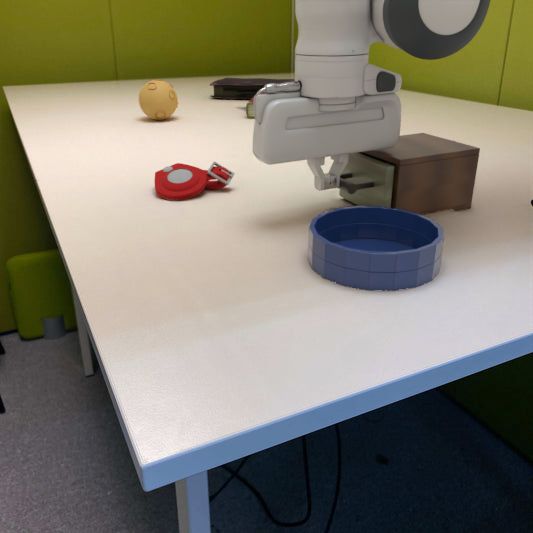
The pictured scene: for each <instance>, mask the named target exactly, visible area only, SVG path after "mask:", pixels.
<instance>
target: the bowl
mask: <svg viewBox="0 0 533 533" xmlns="http://www.w3.org/2000/svg"><path fill="white" fill-rule="evenodd" d="M444 240H445V232H444V228H443V227H442V226H441V225H440V224H439V223H438V222H437V221H435V220H434V219H432V218H430V217H427V216H425V215H421V214H418V213H415V212H411V211H407V210H403V209H398V208H390V207H382V206H358V205H354V206H344V207H343V206H342V207H338V208H334V209H329V210H327V211H326V210H325V211H323V212H321V213H319V214H318V215H316V216H314V217H313V218H312V219H311V221H310V223H309V226H308V247H307V253H308V254H307V261H308V262H309V266H310V267H311V269H312V270H313V271H314V272H315V273H316V274H317V275H318V276H320V275H321V276H320V277H322V278H323V277H324V278H323V279H325V278H326V280H327V279H328V280H327V281H329V280H330V281H329V282H332V281H333V282H332V283H334V282H336V283H335V284H337V285H340V284H341V286H343V285H344V286H343V287H347V286H349V287H348V288H351V287H352V289H357V290H363V289H365V290H364V291H373V290H382V291H381V292H392V291H393V290H394V291H400V290H399V289H404V290H407V289H406V288H409V289H413V287H414V288H417V287H420V286H423V285H425V284H428V283H429V282H431V281H433V279H435V278H436V276H438V274H439V273H440V269H441V264H442V254H443V249H444ZM424 283H425V284H424ZM358 288H359V289H358ZM385 290H387V291H385ZM390 290H392V291H390Z"/></svg>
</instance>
